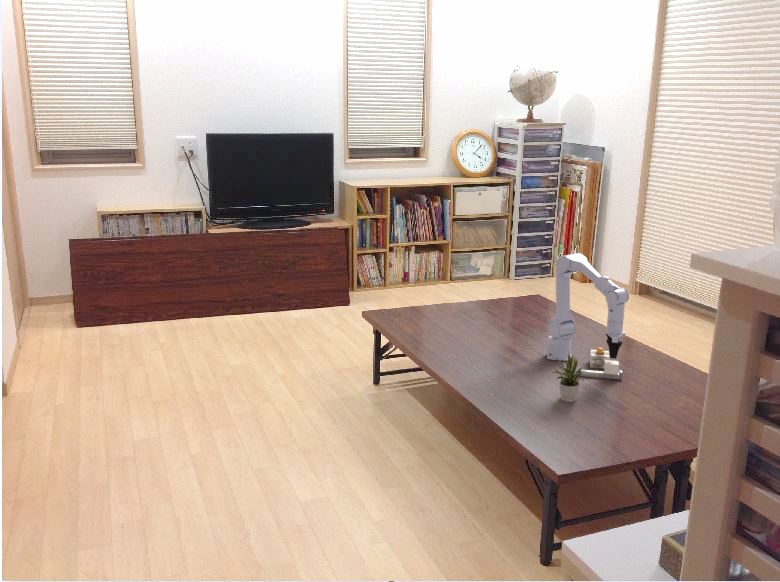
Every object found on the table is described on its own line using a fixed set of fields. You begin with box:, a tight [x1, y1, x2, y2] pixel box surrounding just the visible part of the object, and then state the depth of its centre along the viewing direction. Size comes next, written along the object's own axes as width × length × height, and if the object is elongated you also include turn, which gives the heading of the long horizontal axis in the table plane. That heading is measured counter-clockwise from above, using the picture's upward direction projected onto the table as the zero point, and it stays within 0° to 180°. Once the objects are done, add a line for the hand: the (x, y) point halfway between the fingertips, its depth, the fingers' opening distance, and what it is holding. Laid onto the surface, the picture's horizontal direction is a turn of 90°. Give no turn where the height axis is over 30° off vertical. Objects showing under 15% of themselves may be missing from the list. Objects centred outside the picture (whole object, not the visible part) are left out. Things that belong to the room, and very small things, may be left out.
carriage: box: [603, 359, 620, 380], centre depth 269 cm, size 5×4×6 cm
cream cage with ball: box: [589, 349, 610, 369], centre depth 282 cm, size 7×7×5 cm
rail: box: [577, 365, 623, 381], centre depth 271 cm, size 16×3×3 cm, turn 75°
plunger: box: [596, 346, 604, 354], centre depth 282 cm, size 2×2×2 cm
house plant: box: [551, 352, 586, 403], centre depth 250 cm, size 14×14×16 cm
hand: (612, 354), depth 268 cm, fingers open, 7 cm apart
